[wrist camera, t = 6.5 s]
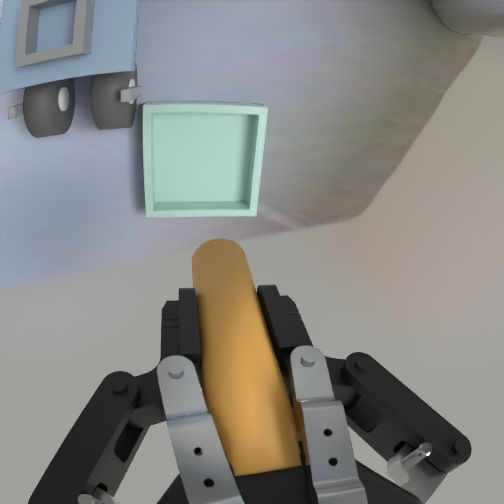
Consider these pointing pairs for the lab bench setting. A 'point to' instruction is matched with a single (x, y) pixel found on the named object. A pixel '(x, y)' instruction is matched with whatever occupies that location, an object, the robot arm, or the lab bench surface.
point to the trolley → (70, 60)
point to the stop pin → (241, 364)
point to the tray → (202, 158)
